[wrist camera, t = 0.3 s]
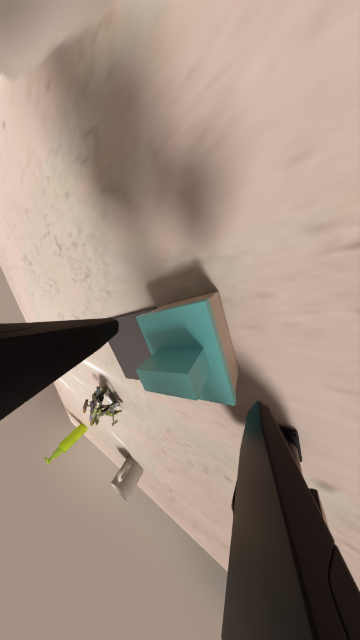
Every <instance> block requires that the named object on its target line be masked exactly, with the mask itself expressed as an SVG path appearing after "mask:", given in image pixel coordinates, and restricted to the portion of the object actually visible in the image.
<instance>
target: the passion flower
mask: <svg viewBox="0 0 360 640" xmlns="http://www.w3.org/2000/svg"><path fill="white" fill-rule="evenodd" d="M106 391H107V388H106V387H105V386H104V388H103V389H102V390H101V391H100V387H97V391H95V392H94V394H93V395H92V401H90V403H91V404H90V405H88V404H87V403H88V399H87V400H85V403H84V406H83V412H84V413H85V412H86V408H87V407H91V410H90V411H91V412H90V413H91V415H90V420H91V419H92V420H91V422H90V425H91V426H92V425H93V424H94V422H95V423H96V425H97V424H98V422H99V418H100V417H101V416H103V415H104V414H106V415H109V416H114V415H115V414H117V413H119V412H121V411H122V410H119V411H116V410H115V411H113V409H114V408H115V407H116V406H117V405H118V404H120V403H121V402H118V403H117V402H116V403H115V402H114V403H112V404H111V405H102V401H103V399H104V396H103V395H104V394H105V392H106ZM122 402H123V401H122ZM103 406H105V407H103ZM103 408H105V409H104V410H103ZM111 410H112V411H111ZM117 421H118V420H116V421H115V422H114V417H113V423H112V426H114V424H115V423H117ZM96 425H95V426H96Z"/></svg>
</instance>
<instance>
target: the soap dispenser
mask: <svg viewBox="0 0 360 640" xmlns="http://www.w3.org/2000/svg"><path fill="white" fill-rule="evenodd" d="M86 431H87V427H86V426H85V425H84V424H83V423H81V424H80V425H79V426H78V427H77V428H76V429H75V430H74V431H73V432H72V433H71V434H69V435H68V436H67V437H66V438H65V439H64V440H63V441H62V442H61V443H60V444H59V448H58V449H57V450H56V451H54V452H53V455H52V456H51V457H50V458H49V459H47V458H46V457H45V461H46V462H47V463H48V464H50V462H51V461H52V460H53V459H54V458H57V457H58V456H59V455H60V454H61V453H62V452H66V451H67V450H68V449H69V448H70V447H71V446H72V445H73V444H74V443H75V442H76V441H77V440H78V439H79V438H80V437H81V436H82V435H83V434H84V433H85V432H86Z"/></svg>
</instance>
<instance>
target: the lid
mask: <svg viewBox="0 0 360 640" xmlns="http://www.w3.org/2000/svg"><path fill="white" fill-rule="evenodd" d="M136 319H137V322H138V324H139V326H140V329H141V331H142V333H143V336H144V338H145V341H146V343H147V345H148V348H149V350H150V352H151V356H150V357H149V358H148V359H147V360H146V361H145V362H144V363H143V364H142V365H141V366H139V367H138V368H137V369H136V372H137V374H138V376H139V378H140V381H141V383H142V385H143V387H144V389H145V391H149V392H155V393H160V394H165V395H170V396H176V397H181V398H186V399H192V400H198V399H200V400H205V401H210V402H216V403H221V404H227V405H232V406H235V404H236V394H235V391H234V387H233V384H232V380H231V376H230V373H229V369H228V366H227V362H226V358H225V355H224V351H223V347H222V344H221V340H220V337H219V333H218V329H217V326H216V322H215V319H214V315H213V311H212V308H211V304H210V300H209V298H207V299H203V300H199V301H195V302H191V303H187V304H182V305H178V306H174V307H170V308H166V309H162V310H158V311H153V312H149V313H145V314H141V315H139V316H137V317H136Z"/></svg>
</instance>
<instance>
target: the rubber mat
mask: <svg viewBox="0 0 360 640" xmlns="http://www.w3.org/2000/svg"><path fill="white" fill-rule="evenodd" d="M155 309H157V308H156V307H155V308H151V309H148V310H144V311H140V312H136V313H132V314H128V315H125V316H121V317H117V318H114V319H116V320H118V322H119V331H118V333H117V334H116V335H115V336H114V337H113V338H112V339H110V340H109V341H108V342H109V344H110V346H111V348H112V350H113V352H114V354H115V356H116V358H117V360H118V362H119V364H120V366H121V368H122V371H123V373H124V375H125V377H126V378H129V379H136V380H140V378H139V376H138V374H137V372H136V369H137V368H138V367H139V366H141V365H142V364H143V363H144V362H145V361H146V360H147V359H148V358H149V357H150V356H151V352H150V350H149V348H148V345H147V343H146V341H145V338H144V336H143V333H142V331H141V329H140V326H139V324H138V322H137V319H136V317H137V316H139V315H141V314H145V313H149V312H151V311H153V310H155Z"/></svg>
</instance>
